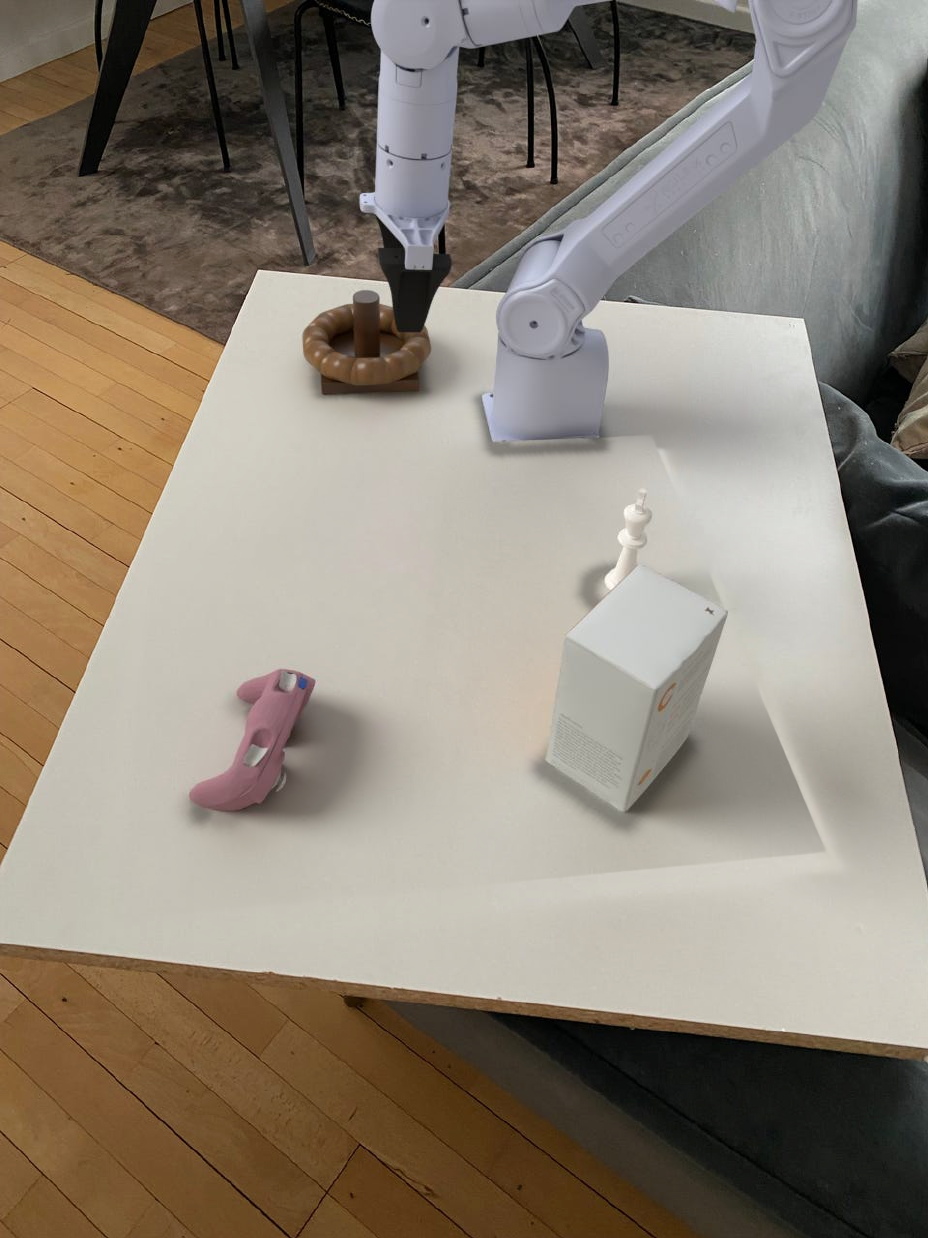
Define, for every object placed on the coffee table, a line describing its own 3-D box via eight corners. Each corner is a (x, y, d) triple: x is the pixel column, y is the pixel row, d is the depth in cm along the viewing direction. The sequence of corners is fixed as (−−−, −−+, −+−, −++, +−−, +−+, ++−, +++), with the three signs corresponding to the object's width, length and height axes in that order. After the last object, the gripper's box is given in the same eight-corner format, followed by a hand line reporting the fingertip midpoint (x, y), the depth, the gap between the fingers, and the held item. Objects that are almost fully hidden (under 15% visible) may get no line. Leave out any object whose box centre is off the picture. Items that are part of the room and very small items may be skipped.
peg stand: (410, 338, 103) (411, 270, 97) (419, 391, 97) (421, 321, 91) (318, 341, 102) (314, 272, 96) (321, 394, 95) (317, 324, 90)
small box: (607, 697, 72) (639, 559, 63) (687, 745, 70) (733, 609, 60) (539, 770, 68) (562, 633, 58) (621, 825, 65) (660, 691, 56)
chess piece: (658, 580, 81) (684, 478, 73) (645, 623, 77) (671, 521, 70) (596, 564, 82) (616, 461, 74) (580, 606, 78) (599, 503, 71)
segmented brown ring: (422, 318, 103) (422, 296, 101) (437, 387, 95) (437, 364, 93) (301, 322, 101) (299, 300, 100) (306, 392, 93) (304, 369, 92)
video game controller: (247, 840, 65) (288, 793, 60) (179, 809, 64) (216, 758, 59) (296, 718, 72) (337, 667, 67) (236, 688, 71) (273, 633, 66)
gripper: (355, 102, 83) (352, 260, 93) (368, 185, 73) (363, 352, 83) (443, 106, 84) (431, 262, 94) (467, 189, 75) (450, 353, 84)
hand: (404, 305), depth 89 cm, fingers open, 7 cm apart
